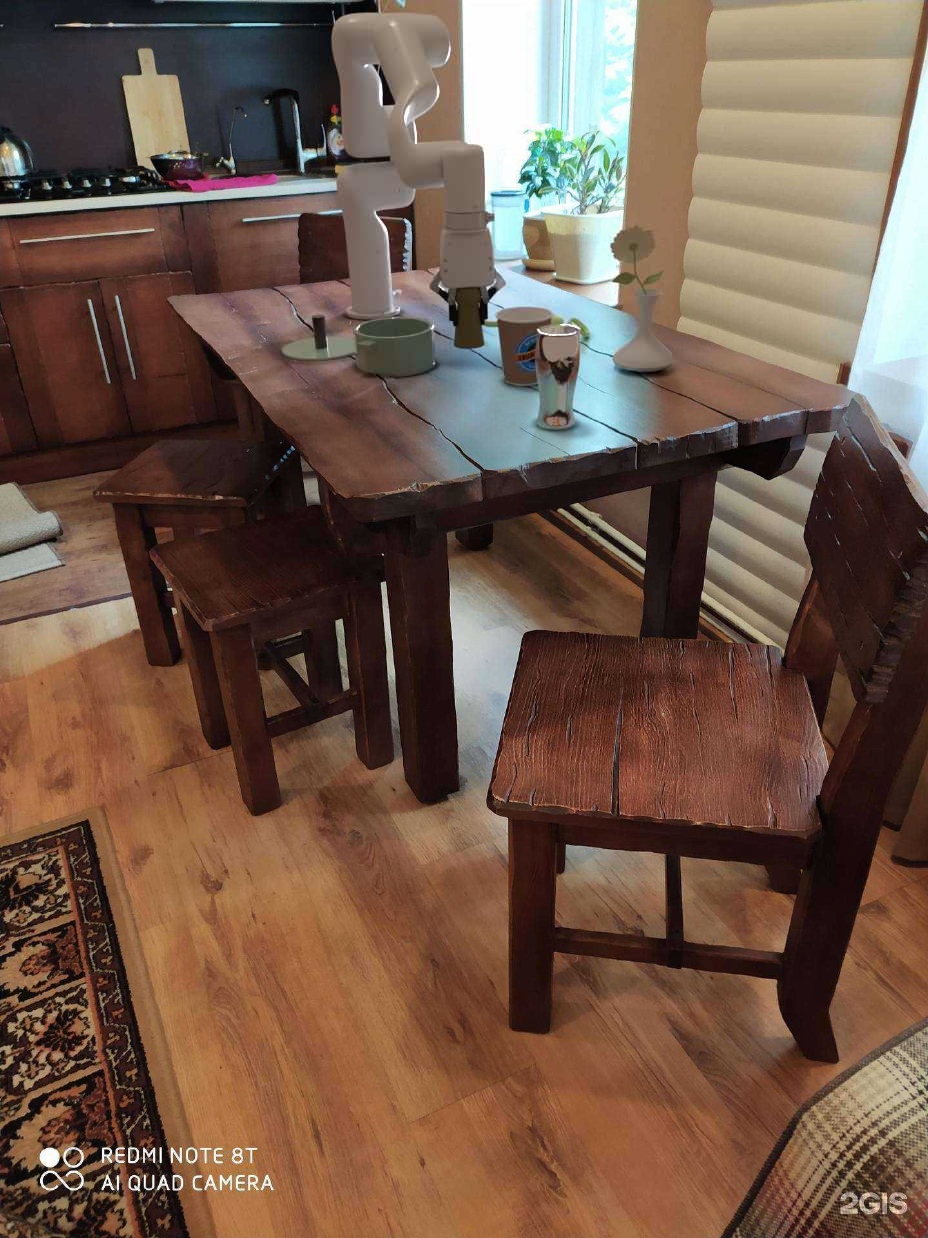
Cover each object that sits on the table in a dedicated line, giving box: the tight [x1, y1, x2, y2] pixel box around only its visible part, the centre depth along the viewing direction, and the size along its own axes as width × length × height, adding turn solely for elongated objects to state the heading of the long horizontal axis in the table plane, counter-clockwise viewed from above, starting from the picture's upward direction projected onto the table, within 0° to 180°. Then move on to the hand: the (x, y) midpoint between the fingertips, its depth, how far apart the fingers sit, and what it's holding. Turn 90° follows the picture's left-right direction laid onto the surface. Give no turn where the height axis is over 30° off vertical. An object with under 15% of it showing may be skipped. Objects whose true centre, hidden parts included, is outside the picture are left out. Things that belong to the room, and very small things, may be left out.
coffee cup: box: [494, 306, 555, 387], centre depth 162 cm, size 10×10×12 cm
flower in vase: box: [609, 224, 675, 373], centre depth 163 cm, size 13×11×25 cm
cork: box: [453, 287, 486, 350], centre depth 172 cm, size 6×6×11 cm
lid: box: [281, 314, 355, 362], centre depth 183 cm, size 16×16×7 cm
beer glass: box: [535, 323, 581, 431], centre depth 142 cm, size 7×7×15 cm
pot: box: [352, 316, 436, 378], centre depth 174 cm, size 15×21×7 cm
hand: (468, 323), depth 172 cm, fingers closed on cork, 4 cm apart
